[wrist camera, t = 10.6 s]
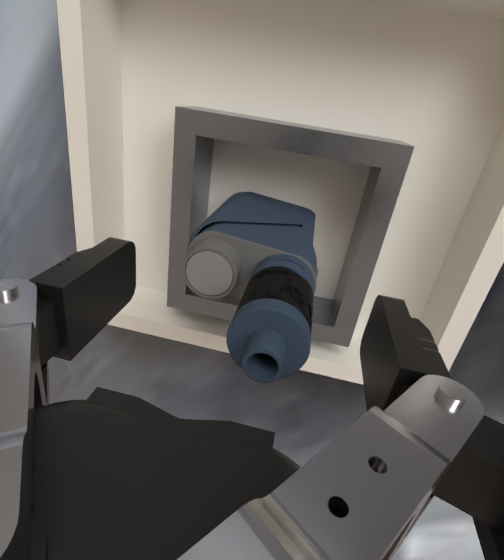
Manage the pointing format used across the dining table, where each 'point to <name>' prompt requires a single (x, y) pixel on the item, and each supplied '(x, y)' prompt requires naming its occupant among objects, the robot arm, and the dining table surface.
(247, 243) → the vaping device
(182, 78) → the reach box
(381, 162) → the inlet socket
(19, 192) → the dining table surface
